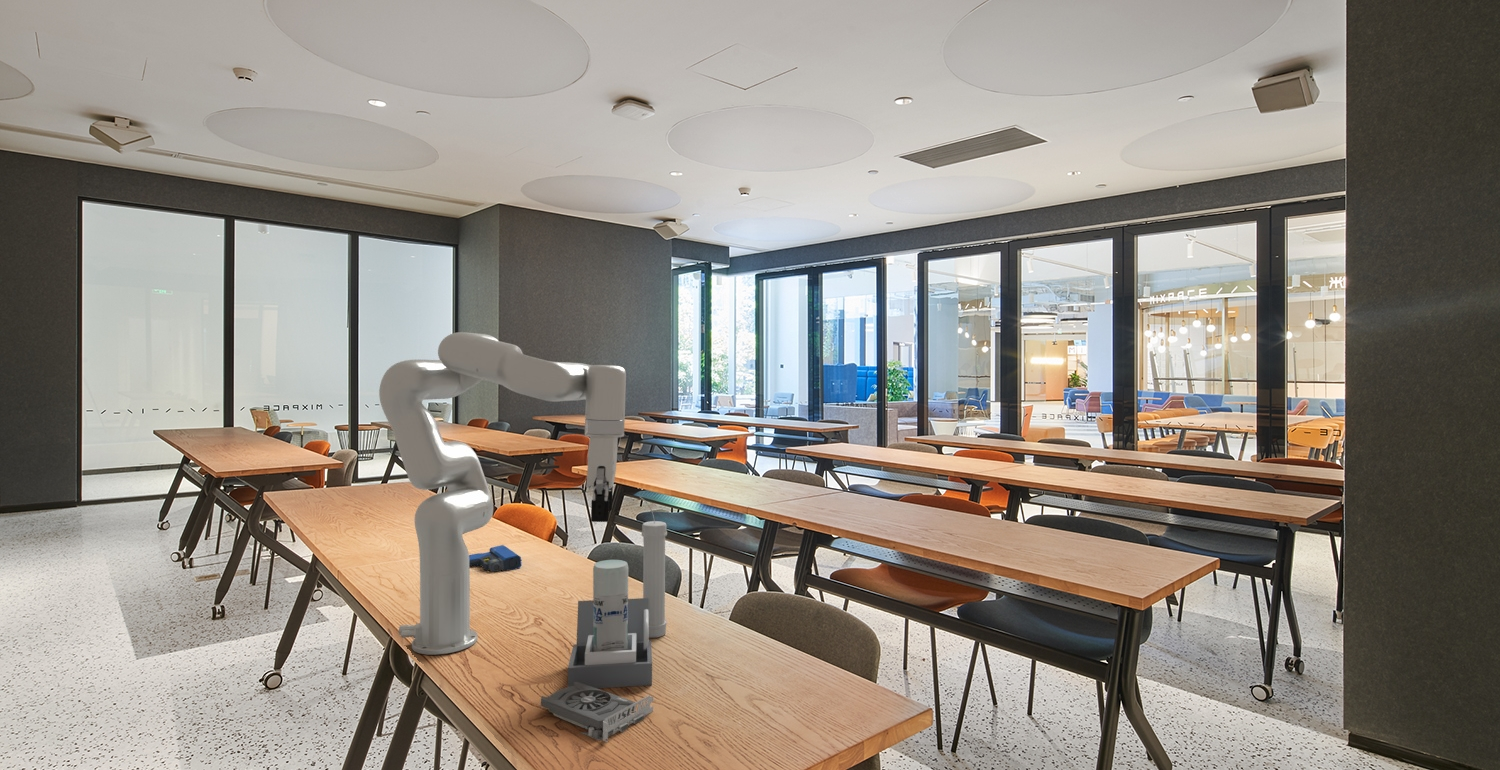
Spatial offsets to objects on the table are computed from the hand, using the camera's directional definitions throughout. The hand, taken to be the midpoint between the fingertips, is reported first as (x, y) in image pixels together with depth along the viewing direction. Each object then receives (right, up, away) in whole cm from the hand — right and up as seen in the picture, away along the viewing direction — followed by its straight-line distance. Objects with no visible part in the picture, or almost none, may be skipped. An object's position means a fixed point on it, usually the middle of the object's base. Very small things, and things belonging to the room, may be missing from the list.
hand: (601, 515), depth 138 cm
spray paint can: (+3, -28, -4) cm, 29 cm away
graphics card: (+3, -30, -19) cm, 36 cm away
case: (+2, -29, -2) cm, 29 cm away
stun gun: (-48, -28, +69) cm, 89 cm away
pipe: (+8, -29, +17) cm, 34 cm away
